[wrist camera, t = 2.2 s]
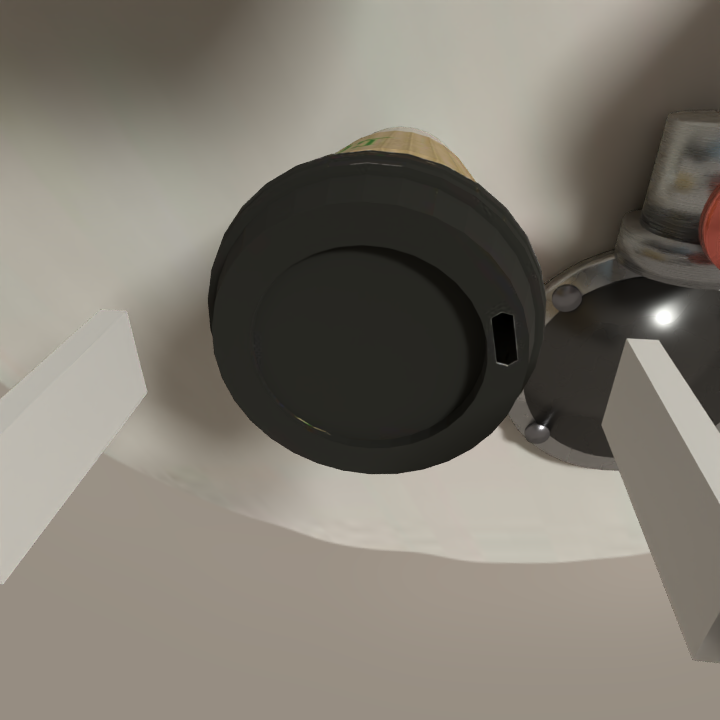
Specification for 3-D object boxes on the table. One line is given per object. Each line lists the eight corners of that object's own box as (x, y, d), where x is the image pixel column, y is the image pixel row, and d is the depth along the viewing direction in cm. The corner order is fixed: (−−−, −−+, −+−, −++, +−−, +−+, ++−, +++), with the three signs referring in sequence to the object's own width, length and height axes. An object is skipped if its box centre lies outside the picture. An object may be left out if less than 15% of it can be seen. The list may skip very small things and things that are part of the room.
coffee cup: (275, 110, 26) (124, 215, 14) (491, 58, 24) (547, 125, 11) (329, 298, 31) (254, 501, 19) (511, 269, 29) (566, 476, 16)
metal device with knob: (536, 104, 25) (575, 148, 18) (874, 110, 24) (1064, 159, 17) (484, 442, 36) (496, 554, 29) (714, 459, 35) (787, 582, 27)
